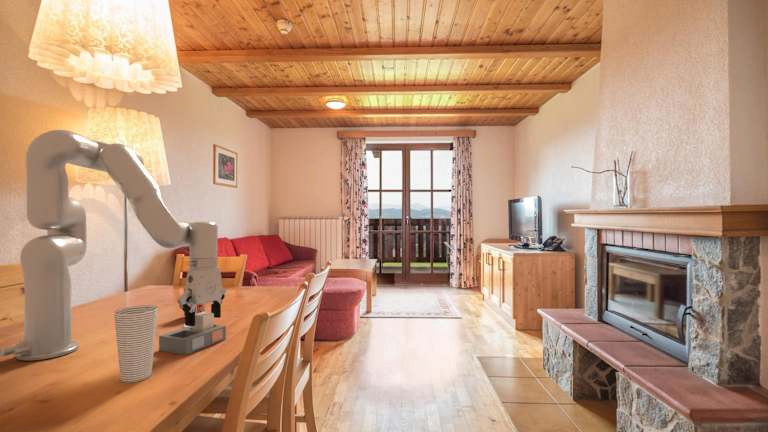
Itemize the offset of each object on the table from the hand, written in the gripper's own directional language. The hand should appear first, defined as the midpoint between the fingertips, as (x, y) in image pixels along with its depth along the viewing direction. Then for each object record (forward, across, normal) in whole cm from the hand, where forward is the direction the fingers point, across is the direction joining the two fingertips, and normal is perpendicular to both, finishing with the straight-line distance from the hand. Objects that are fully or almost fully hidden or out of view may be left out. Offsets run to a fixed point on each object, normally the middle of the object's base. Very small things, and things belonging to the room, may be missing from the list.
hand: (203, 321), depth 114 cm
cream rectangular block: (+6, 0, 0) cm, 6 cm away
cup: (+6, -26, -6) cm, 27 cm away
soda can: (+6, +20, +25) cm, 33 cm away
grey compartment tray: (+6, -4, 0) cm, 7 cm away
